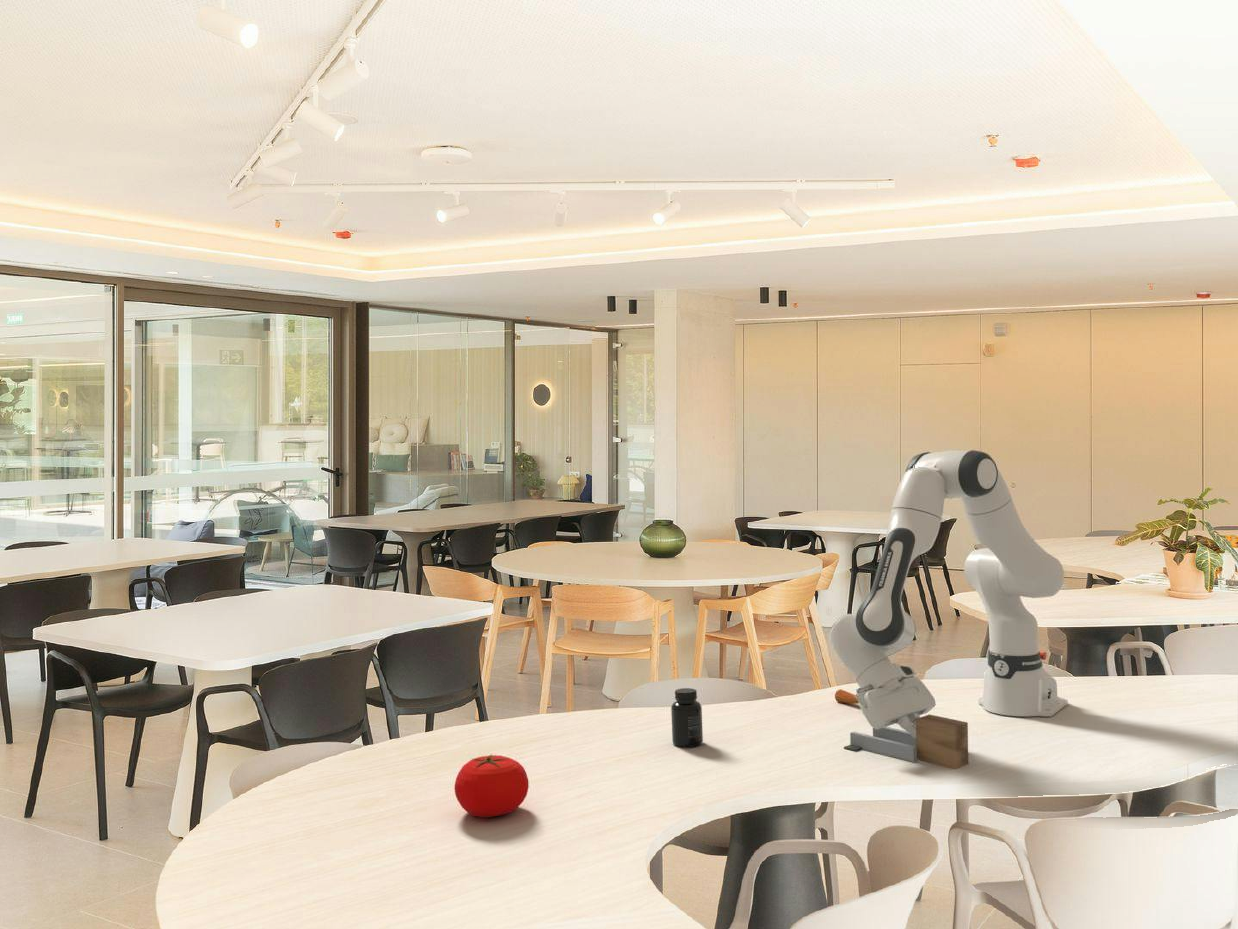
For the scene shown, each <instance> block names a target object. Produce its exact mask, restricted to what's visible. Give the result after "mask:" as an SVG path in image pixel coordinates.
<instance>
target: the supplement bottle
mask: <svg viewBox="0 0 1238 929" xmlns="http://www.w3.org/2000/svg"><path fill="white" fill-rule="evenodd" d="M674 695H675V696H674V699H675V701H674V702H673V703H672V704H671V708H670V709H671V710H670V712H671V735H672V736H671V737H672V744H673V745H674V746H675V745H676V746H675V747H678V746H679V748H695V747H699V746H701V745H702V744H703V742H704V740H703V738H704V737H703V734H704V733H703V732H704V731H703V711H702V709H703V707H702V704H701V702H699V701H697V699H698V695H697V689H695V688H689V687H688V688H687V687H682V688H677V689H676V690H675V691H674Z"/></svg>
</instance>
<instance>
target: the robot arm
mask: <svg viewBox="0 0 1238 929" xmlns="http://www.w3.org/2000/svg"><path fill="white" fill-rule="evenodd" d="M955 498H956V499H957V498H960V501H961V504H962V506H963V510H964V513H965V515H966V519H967V520H968V523H969V526H970V529H971V531H972V534H973V537H974V538H975V539H976V541H978V543H979V544H981V545H982V546H984V547H985V548H977V549H974V550H972V551H971V552H969V555H968V556H967V557H966V559H965V563H964V568H963V572H964V576H965V579H966V581H967V582H968V584H969V585H970V586H971V587H973V588H974V589H975V591H976V592H977V594H978V595H979V598H980V599H981V602H982V604H983V606H984V609H985V612H986V615H987V621H988V622H987V623H988V632H989V638H988V639H989V649H988V651H987V657H986V658H987V665H988V666H989V667H988V668H987V669H986V670H985V671H984V673H983V681H982V682H983V684H982V686H983V687H982V697H980V698H978V702H977V703H978V704H979V705H981V706H982V708H983V710H986V711H987V712H990V713H993V714H998V715H1002V716H1009V717H1052V716H1054V715H1055V714H1057V713H1058V712H1059V711H1060V710H1062V709H1064V708H1065V707H1066V706H1068V699H1066V698H1064V697H1061V696H1058V684H1057V683H1058V682H1057V680H1056V679H1055V678H1054V677H1053V676H1052V675H1051V674H1050V673H1048V671H1046V670H1045V668H1043V666H1044V665H1043V662H1042V660H1044V661H1045V660H1046V659H1047V657H1048V654H1047V651H1045V650H1044V651H1041V650H1039V628H1038V626H1039V624H1038V621H1037V618H1036V616H1034V615H1033V614H1032V613H1031V612H1030V611H1029V610H1028V609H1027V608H1026V607H1025V605H1024V604H1023V602H1022V598H1021V597H1024V598H1025V597H1026V598H1031V599H1037V598H1039V599H1041V598H1048V597H1049V598H1051V597H1054V596H1056V595H1057V594H1058V593H1059V591H1060V590H1061V588H1062V587H1063V585H1064V583H1065V571H1064V568H1063V565H1062V563H1061V561H1060V560H1059V559H1058V558H1056V557H1055V556H1053V555H1051V554H1050V553H1049V552H1047V551H1046V550H1045V549H1043V548H1042V546H1040V545H1039V544H1038V542H1036V541H1035V539H1034V538H1033V536H1031V534H1030V533H1029V532H1028V530H1027V529H1026V528H1025V526H1024V524H1023V523H1022V520H1021V519H1020V517H1019V514H1018V512H1017V509H1016V505H1015V503H1014V501H1013V499H1012V495H1011V492H1010V491H1009V488H1008V486H1007V483H1006V480H1005V479H1004V477H1003V475H1002V473H1001V472H1000V470H999V468H998V466H997V464H996V461H995V460H994V459H993V458H992V456H991V455H989V454H988V453H986V452H984V451H980V450H975V449H973V450H961V449H948V450H942V451H935V452H929V451H927V452H921V453H919V454H916V455H913V457H912V458H911V459H910V460H909V462H908V464H907V466H906V470H905V473H904V474H903V476H902V478H901V480H900V482H899V485H898V488H897V490H896V493H895V495H894V499H893V501H892V507H891V510H890V515H889V520H888V525H887V531H886V536H885V541H884V546H883V549H882V552H881V556H880V559H879V562H878V566H877V569H876V572H875V576H874V580H873V583H872V586H871V588H870V591H869V593H868V595H867V596H866V598H864V600H863V601H862V603H861V604H860V606H859V608H858V609H857V612H856V613H855V614H854V613H853V614H852V613H847V614H844V615H842V616H841V617H840V618H838V619H837V620H836V621H835V622H834V623H833V625H832V626H831V627H830V628H831V629H829V634H828V639H829V643H830V645H831V647H832V649H833V651H834V653H835V655H836V656H837V657H838V659H839V660H840V661H841V663H842V665H843V666H844V667H845V669H847V670H849V671H850V672H851V674H852V676H853V678H854V681H855V682H856V684H857V685H858V687H859V688H857V689H856V690H855V695H856V696H855V697H856V699H857V700H858V702H859V704H858V705H859V708H860V710H861V712H862V714H863V715H864V718H865V719H866V721H867V722H868V724H869V725H870V727H871V728H872V729H873V728H875V729H881V728H884V727H890V726H892V725H895V724H898V725H899V727H900V728H902V729H903V730H904V731H907V732H909V733H910V734H911V736H912V737H913V738H916V719H917V718H920V717H921V716H922V715H926V714H928V713H929V712H930V711H931V710H933V708H934V707H935V706H936V700H935V697H934V696H933V694H932V693H931V692H930V690H929V689H928V687H927V686H926V685H925V683H924V682H923V681H922V680H921V679H920V678H918V677H916V676H915V675H916V674H917V673H916V671H915V669H914V667H912V666H909V665H908V666H907V665H901V664H897V663H893V662H892V660H891V659H890V658H889V657H890V656H891V655H894V654H896V653H898V652H900V651H902V650H904V649H906V648H907V647H908V646H910V645H911V644H912V642H913V641H914V639H915V637H916V629H917V628H916V623H915V621H914V619H913V618H912V616H911V615H910V614H909V613H908V612H906V610H904V609H903V607H902V595H903V591H904V589H905V585H906V580H907V577H908V574H909V570H910V568H911V564H913V561H914V560H915V559H916V558H917V557H919V556H921V555H922V554H925V553H927V552H929V551H930V549H932V547H933V546H934V544H935V542H936V539H937V537H938V534H939V531H940V528H941V524H942V523H941V522H942V519H943V513H944V505H945V499H955Z"/></svg>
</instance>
